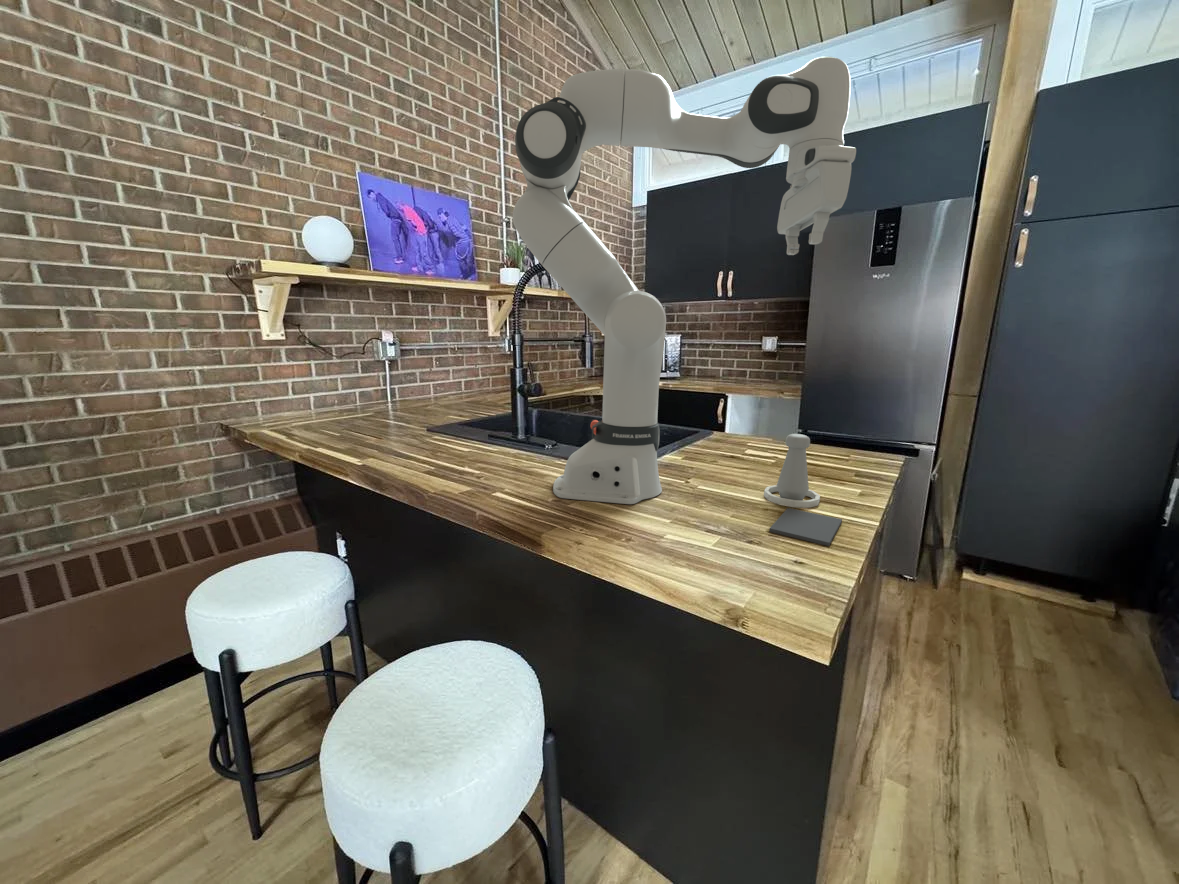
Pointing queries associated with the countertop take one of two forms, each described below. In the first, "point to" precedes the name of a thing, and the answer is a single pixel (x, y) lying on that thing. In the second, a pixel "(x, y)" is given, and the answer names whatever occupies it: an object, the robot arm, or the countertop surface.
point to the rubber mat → (807, 526)
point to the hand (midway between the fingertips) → (803, 249)
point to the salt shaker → (794, 469)
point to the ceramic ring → (792, 503)
